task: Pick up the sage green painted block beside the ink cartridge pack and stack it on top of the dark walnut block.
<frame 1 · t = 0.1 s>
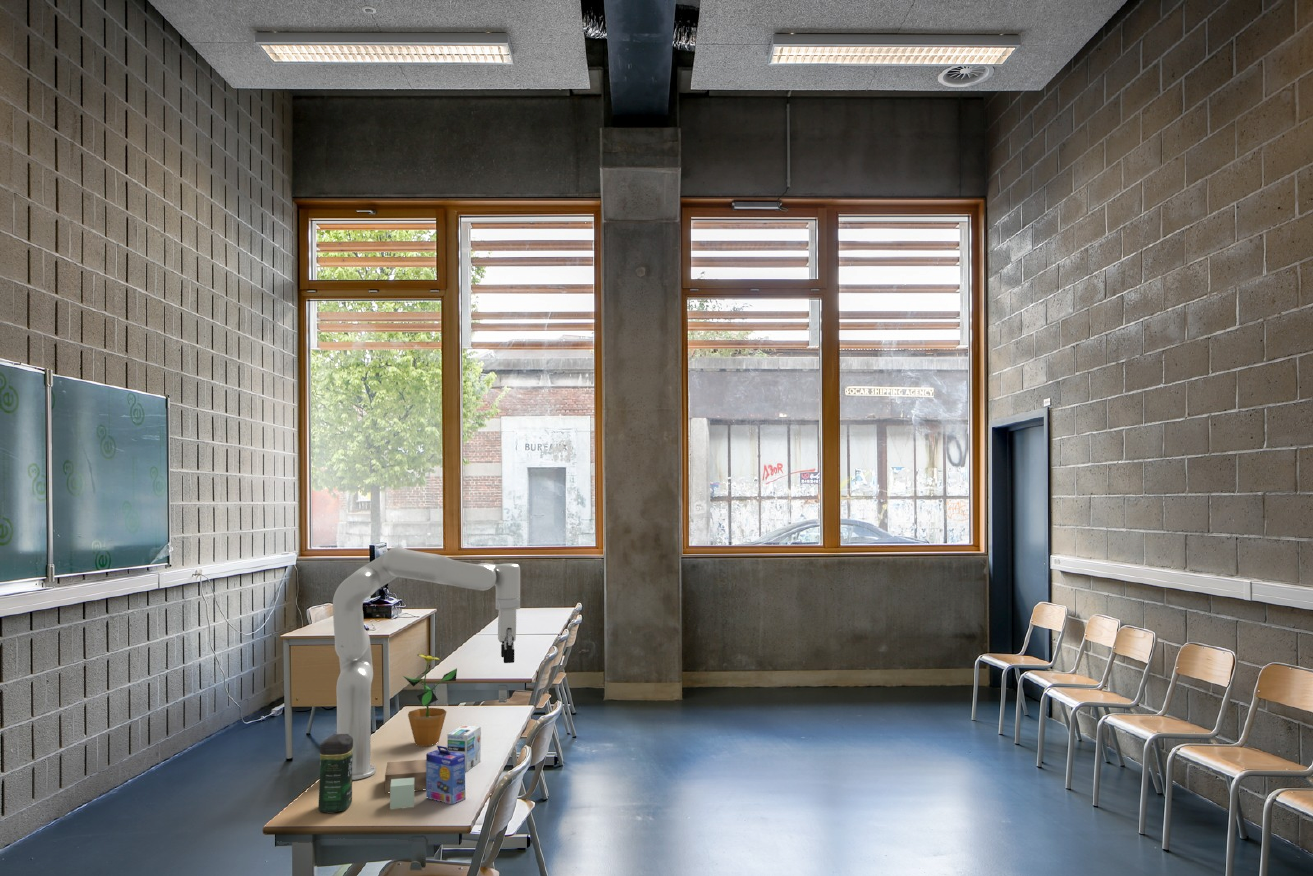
hand: (507, 659, 279), 31 cm above the table, tool pointing down, fingers open, 9 cm apart
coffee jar: (335, 808, 239), on the table
ink cartridge box: (445, 799, 245), on the table
light bulb box: (464, 766, 274), on the table
potted plant: (427, 743, 298), on the table
sage block: (402, 805, 241), on the table
walnut block: (408, 785, 257), on the table
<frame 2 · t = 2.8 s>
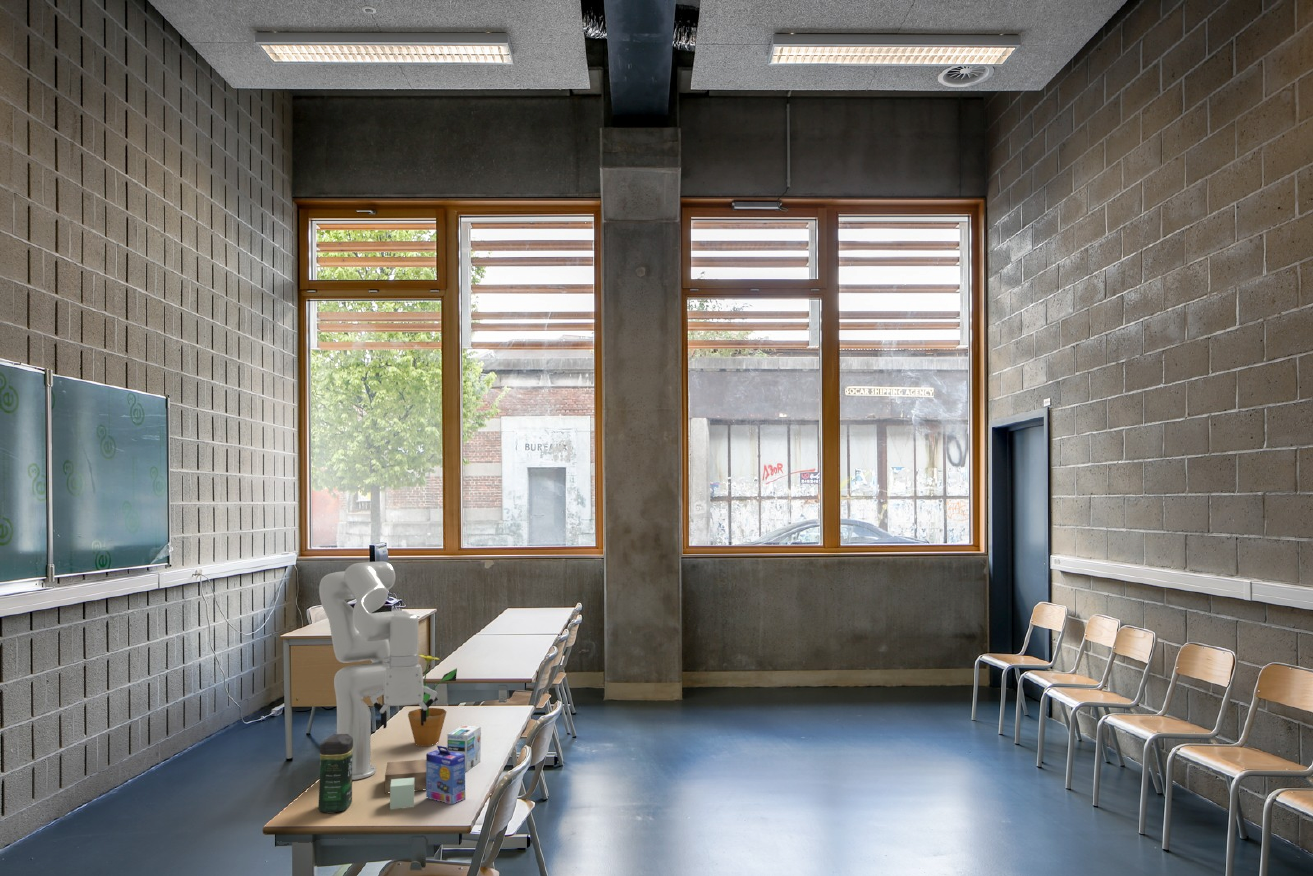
hand: (403, 725, 242), 21 cm above the table, tool pointing down, fingers open, 9 cm apart
nothing on the table moved.
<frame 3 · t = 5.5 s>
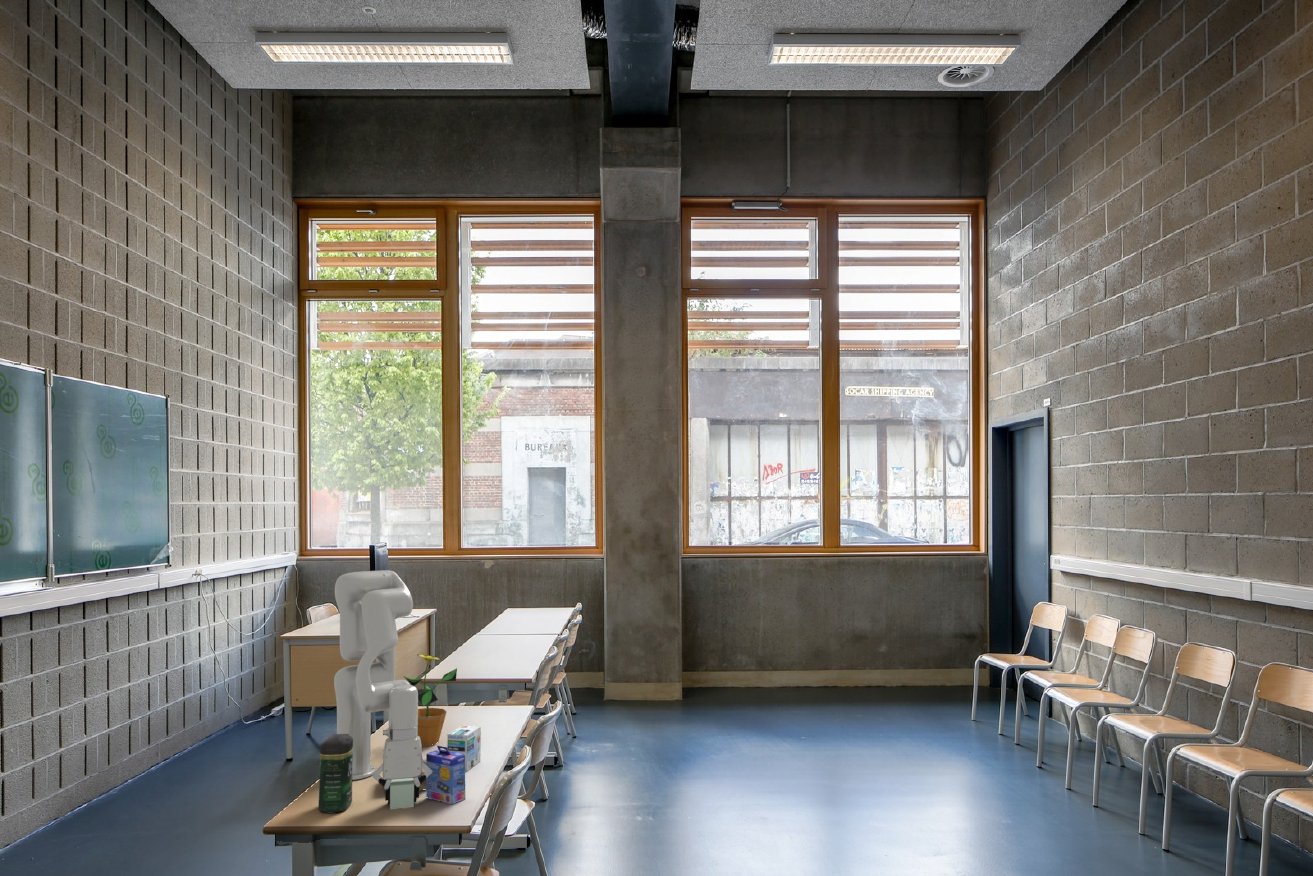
hand: (402, 801, 241), 1 cm above the table, tool pointing down, fingers closed on sage block, 6 cm apart
sage block: (402, 804, 241), on the table, touching gripper
everything else where it was.
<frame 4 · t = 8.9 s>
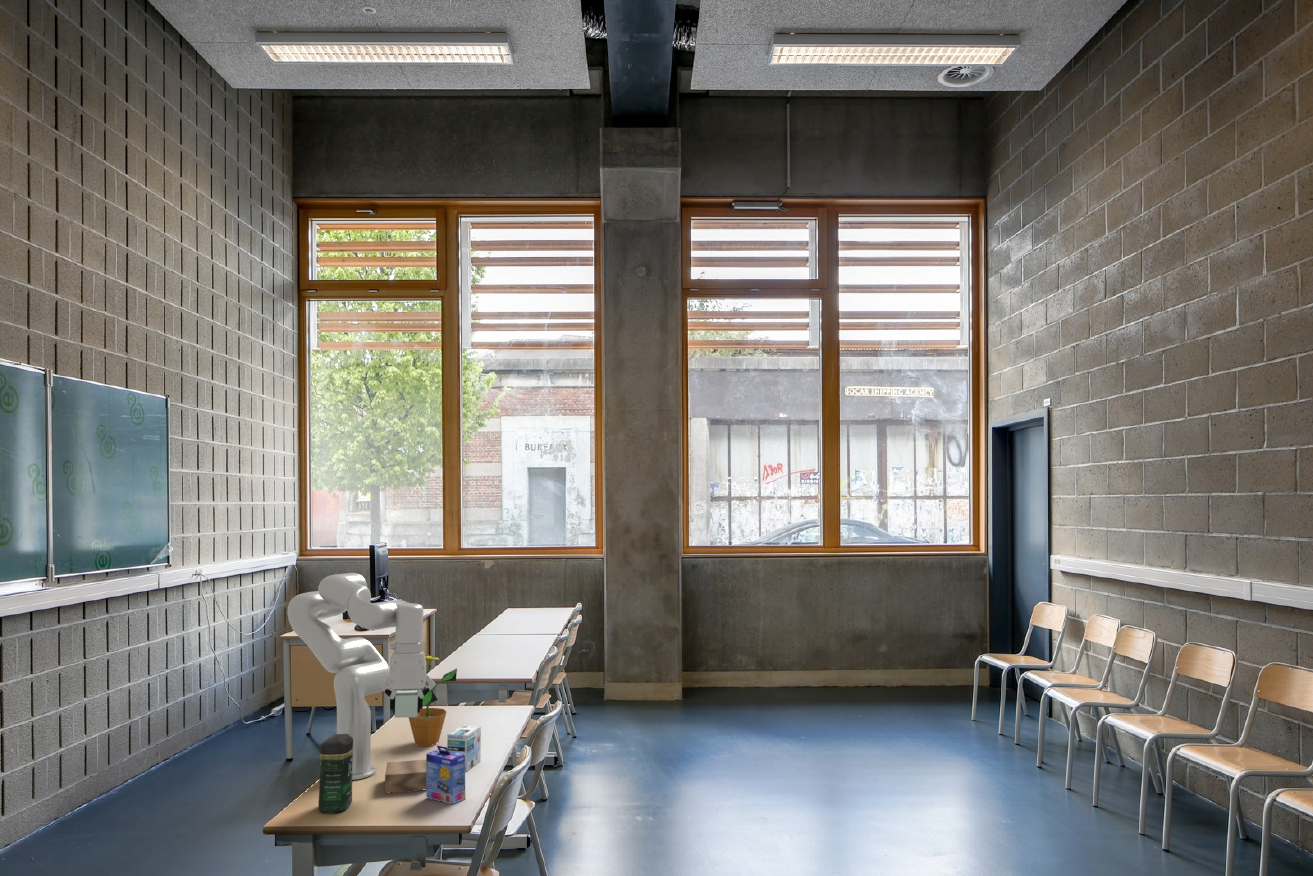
hand: (406, 711, 256), 21 cm above the table, tool pointing down, fingers closed on sage block, 6 cm apart
sage block: (406, 714, 256), point 20 cm above the table, touching gripper
everything else where it was.
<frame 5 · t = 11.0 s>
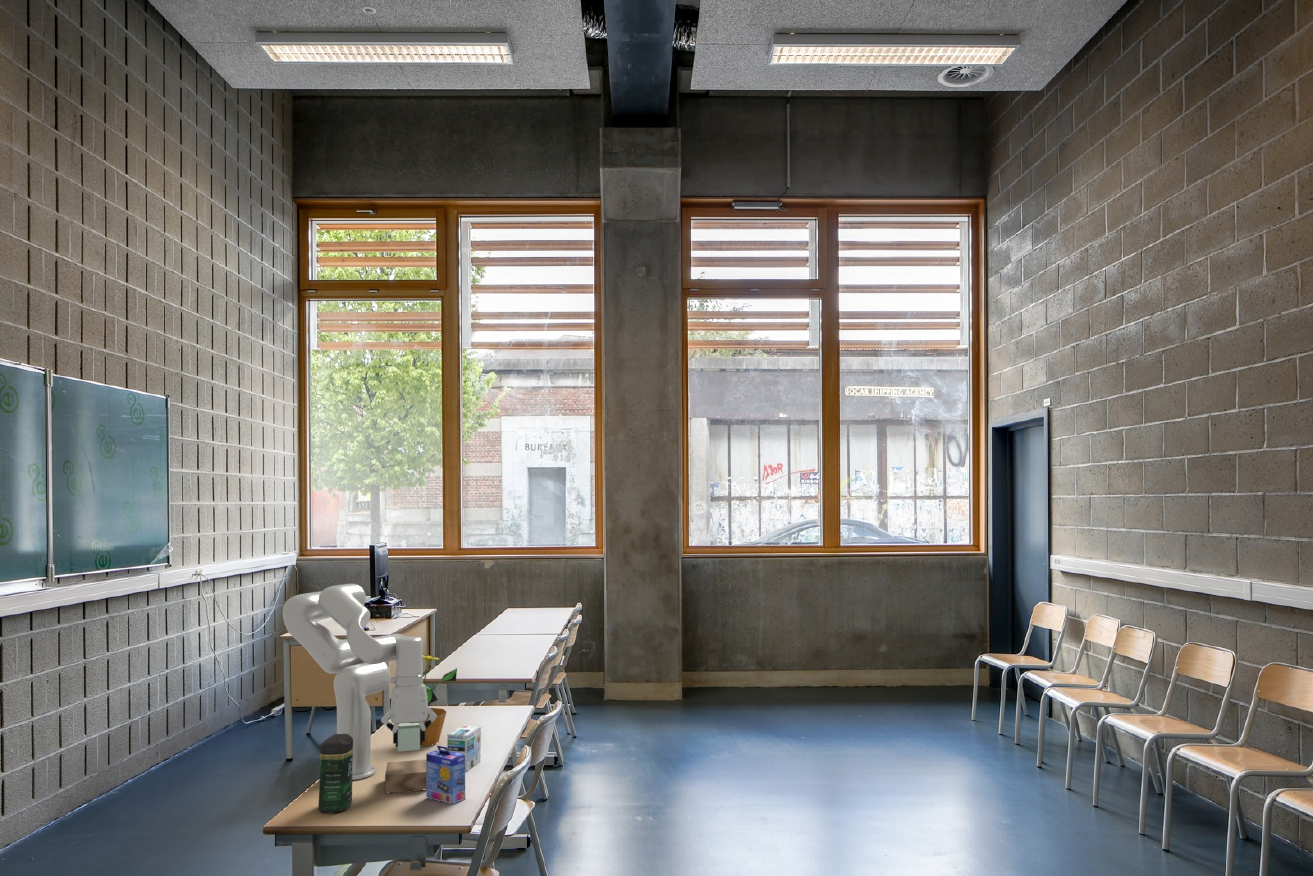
hand: (409, 744, 257), 11 cm above the table, tool pointing down, fingers closed on sage block, 6 cm apart
sage block: (409, 747, 257), point 10 cm above the table, touching gripper
everything else where it was.
when the fingers open (7 cm above the table, at t = 12.7 s): sage block drops 1 cm, resting on walnut block.
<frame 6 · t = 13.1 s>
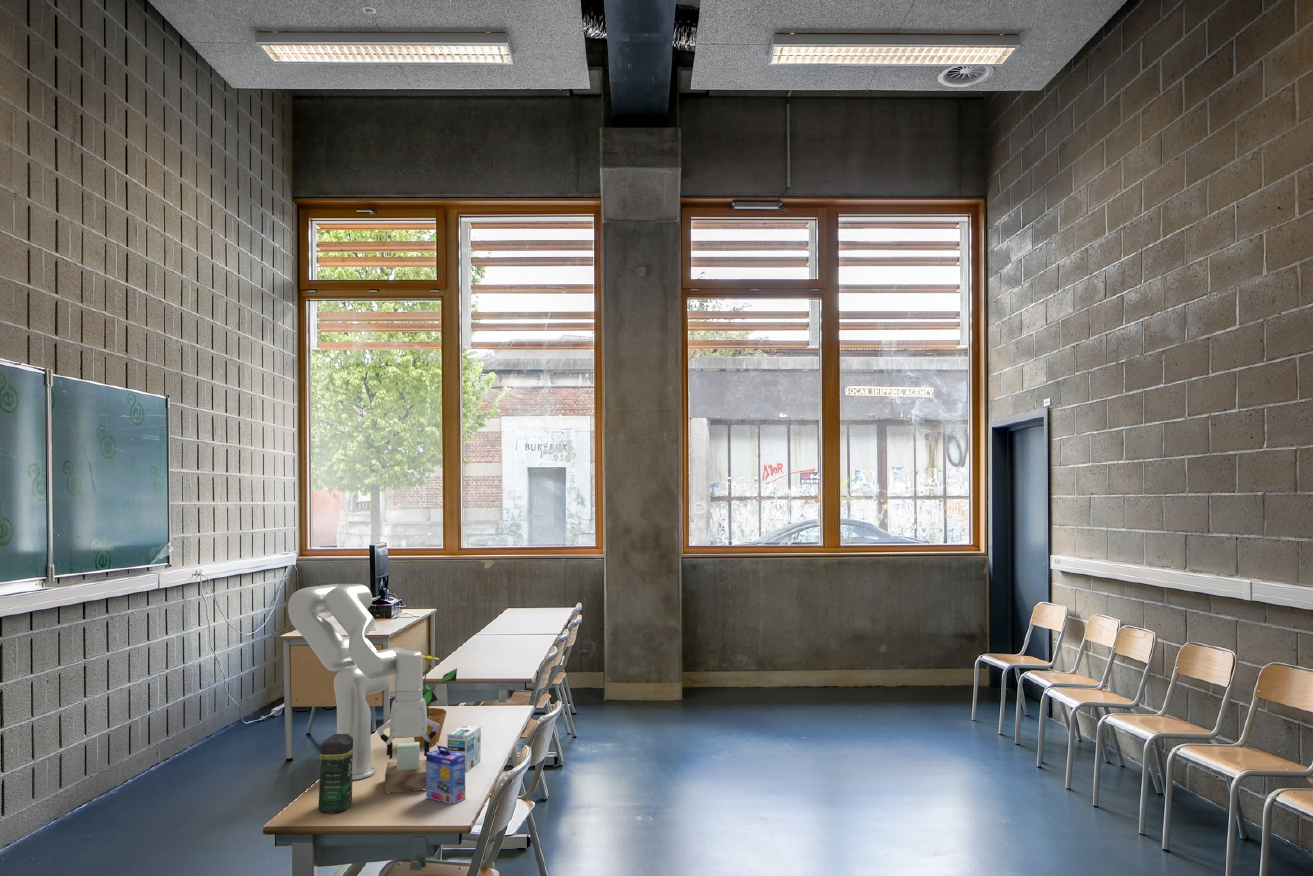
hand: (408, 756, 257), 8 cm above the table, tool pointing down, fingers open, 9 cm apart
sage block: (408, 767, 257), point 5 cm above the table, touching walnut block
everything else where it was.
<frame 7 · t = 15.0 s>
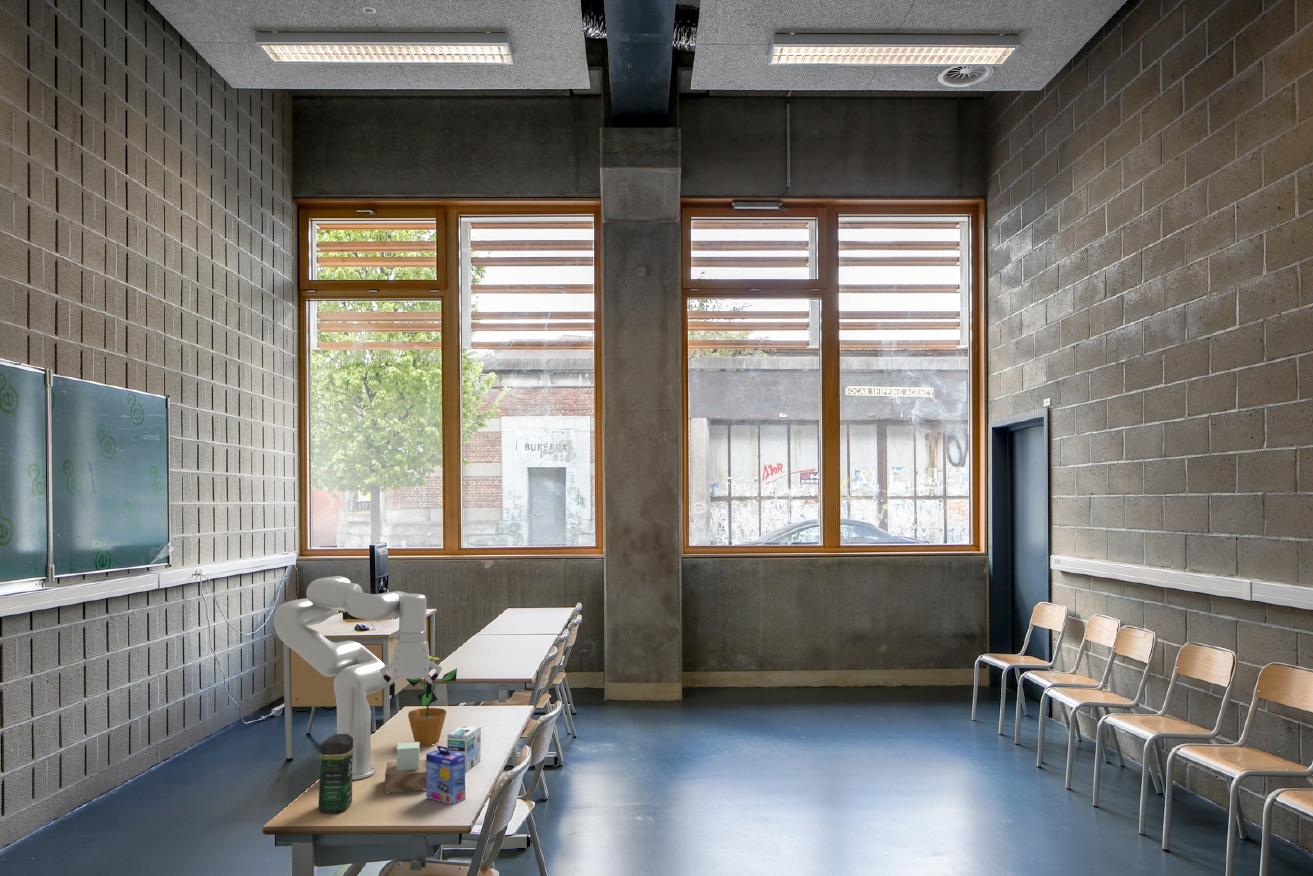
hand: (410, 697, 260), 24 cm above the table, tool pointing down, fingers open, 9 cm apart
nothing on the table moved.
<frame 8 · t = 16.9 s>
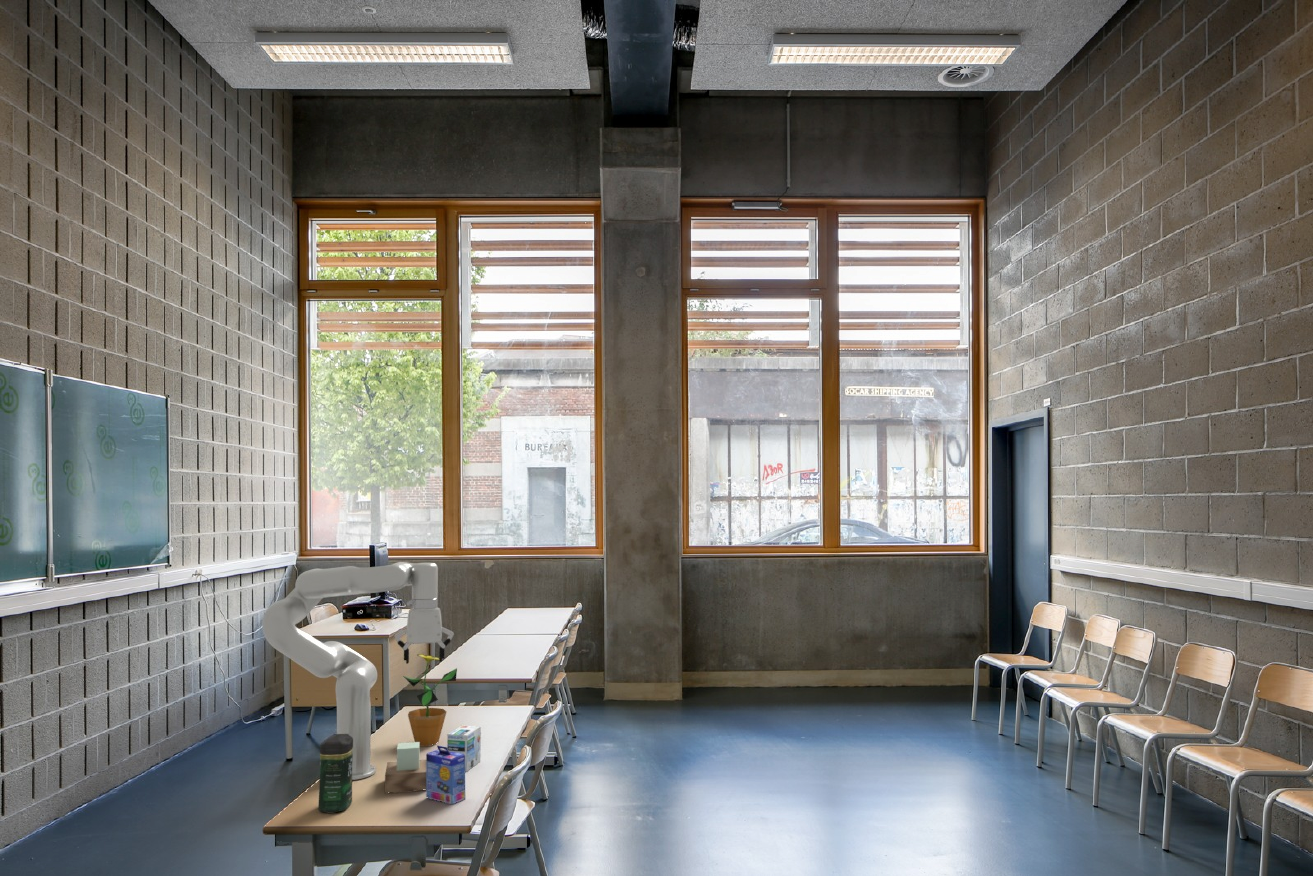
hand: (424, 662, 270), 32 cm above the table, tool pointing down, fingers open, 9 cm apart
nothing on the table moved.
at the end: sage block inside the target area on the walnut block (0.0 cm from its centre), point 5.0 cm above the walnut block's base; sage block tilted 0°; sage block touching walnut block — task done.
